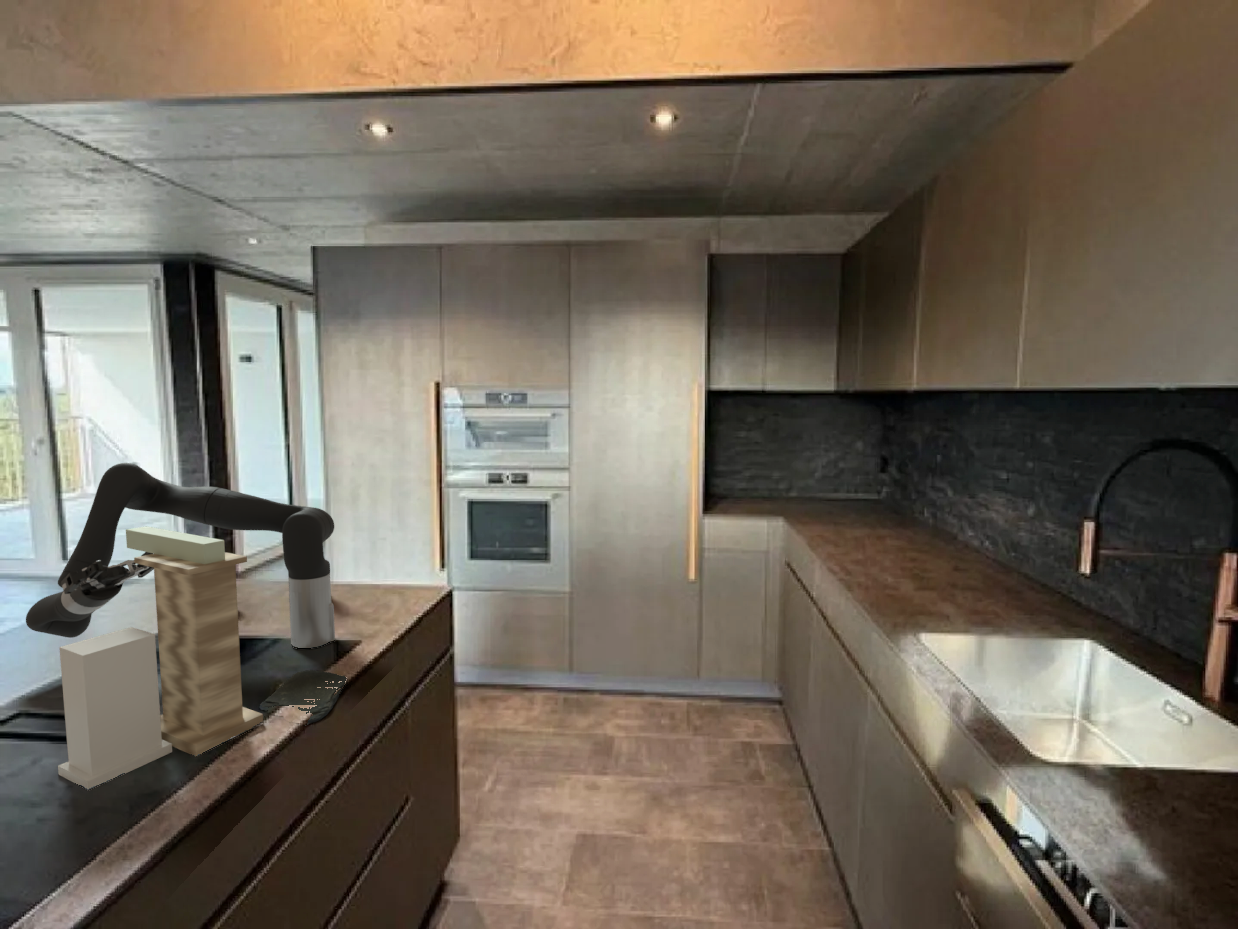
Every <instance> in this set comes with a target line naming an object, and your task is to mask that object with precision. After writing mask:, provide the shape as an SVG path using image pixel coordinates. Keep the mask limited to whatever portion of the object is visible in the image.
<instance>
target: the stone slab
mask: <svg viewBox="0 0 1238 929" xmlns="http://www.w3.org/2000/svg"><path fill="white" fill-rule="evenodd" d="M337 674H338V673H333V672H329V671H321V670H313V669H310V670H309V669H306V670H303V671H297V672H295V673H294V674H292V676H291V677H289V679H287V680H286V681H285V682H283V684H282V685H281V686H280V687H278V688H277V689H276V690H275V692H274V691H273V692H274V693H273V694H272V693H271V694H272V695H271V694H270V695H271V696H270V695H269V696H268V697H267V698H266V699H264V700H265V701H264V700H263V701H264V702H263V701H262V702H260V704H259V705H262V707H268V708H269V707H272V706H273V707H274V706H289V705H317V706H315V707H312V708H311V709H310V707H309V709H307V708H304V709H303V708H300V707H298V709H299V710H301V711H308V712H306V714H307V713H309V711H310V713H312V714H313V716H311V717H310V719H309V720H308V723H307V725H309V724H312V723H316V722H318V721H320V720H322V719H323V718H325V717H326V716H327V715H328V714H329V713H330V711H331V710H332V709H333V708H334V705H335V704H336V702H337V701H338V699H339V698H340V695H341V693H342V691H343V690H342V687H343V686H344V684H345V681H346V679H347V678H348V677H347V676H346V675H343V676H341V674H339V675H337ZM345 676H346V677H347V678H346V677H345ZM347 680H348V679H347ZM325 681H328V682H325ZM332 681H334V683H332ZM339 681H342V682H340V683H338V682H339ZM330 682H331V683H330ZM327 683H328V684H327ZM317 687H321V688H317ZM325 687H333V689H332V688H328V689H327V688H325ZM334 687H338V688H337V689H336V688H334ZM339 688H341V689H340V690H339V691H338V692H337V694H335V695H334V693H335V692H336V690H338V689H339ZM341 690H342V691H341ZM340 692H341V693H340ZM339 694H340V695H339ZM304 699H315V702H313V701H314V700H304ZM317 699H318V700H317ZM319 699H320V700H319ZM307 701H309V702H307ZM311 702H312V703H311ZM314 703H315V704H314ZM292 707H294V706H292ZM307 725H306V726H307Z"/></svg>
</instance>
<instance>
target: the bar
mask: <svg viewBox="0 0 1238 929" xmlns="http://www.w3.org/2000/svg"><path fill="white" fill-rule="evenodd" d="M125 537H126V539H125V540H126V541H125V542H126V548H127V549H131V550H135V551H141V552H144V553H145V552H149V553H153V554H158V555H163V556H168V557H173V558H177V559H182V560H187V561H192V562H196V563H201V564H208V563H213V562H217V561H222V560H225V552H226V549H225V547H226V546H225V540H224V539H221V538H213V537H210V536H209V537H207V536H202V535H197V534H191V533H186V532H182V531H175V530H170V529H163V528H159V527H153V526H148V525H147V526H140V527H139V526H138V527H133V528H127V529H126V528H125Z"/></svg>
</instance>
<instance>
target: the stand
mask: <svg viewBox="0 0 1238 929" xmlns="http://www.w3.org/2000/svg"><path fill="white" fill-rule="evenodd" d="M133 560H134V563H136V564H135V565H138V564H141V565H145V566H149V567H154V570H153V574H154V576H153V577H154V590H155V592H154V593H155V605H156V606H155V607H156V608H155V610H156V622H157V638H158V655H159V670H160V671H159V672H160V682H161V683H160V684H161V687H160V688H161V700H162V701H161V702H162V703H161V704H162V714H160V721H161V737H162V740H165V741H167V742H169V743H172V748H175V749H178V750H179V751H181V752H185V753H187V754H189V755H191V754H192V755H191V756H193V755H195V756H194V757H196V756H197V755H198V754H201V755H203V754H204V753H203V752H205V751H207V750H209V749H211V748H213V747H215V746H217V745H219V744H221V743H222V742H225V741H227V740H228V739H230V738H231V737H233V736H236V735H238V734H240V733H242V732H244V731H245V730H249V729H251V728H252V727H253V726H255V725H257V724H259V723H260V722H262V721H263V722H264V713H261V712H258V711H257V710H252V709H249V708H247V707H246V706H243V693H242V670H241V656H240V655H241V653H240V633H239V632H240V631H239V630H240V629H239V612H238V608H239V607H238V592H237V572H236V571H237V568H236V565H240V564H243V563H248V557H247V555H243V554H235V553H232V552H226V551H225V560H222V561H217V562H213V563H208V564H201V563H196V562H192V561H187V560H182V559H177V558H173V557H168V556H163V555H158V554H154V553H153V554H150V555H145V556H141V555H140V556H135V557H133ZM221 745H222V744H221ZM219 746H220V745H219ZM217 747H218V746H217ZM215 748H216V747H215ZM213 749H214V748H213ZM211 750H212V749H211ZM209 751H210V750H209ZM207 752H208V751H207ZM202 753H203V754H202ZM205 753H206V752H205ZM197 757H198V756H197Z"/></svg>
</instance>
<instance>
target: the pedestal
mask: <svg viewBox="0 0 1238 929" xmlns="http://www.w3.org/2000/svg"><path fill="white" fill-rule="evenodd" d="M156 643H157V642H156V634H155V633H154V632H153V633H152V632H149V631H146V630H143V629H139V628H136V627H133V626H130V627H126V628H123V629H119V630H116V631H112V632H109V633H105V634H101V635H98V636H94V637H91V638H87V639H84V640H79V641H76V642H73V643H69V644H66V645H62V646H59V647H58V648H59V657H60V672H61V686H62V693H63V694H62V696H63V709H64V710H63V711H64V719H65V720H64V721H65V735H66V745H67V747H66V748H67V758H68V759H67V760H68V761H66V762H62V763H61V764H58V765H57V769H58V770H57V771H58V772H57V773H58V776H60V777H62V778H63V779H66V780H68V781H69V782H71V783H73V784H75V783H76V784H75V785H77V784H78V785H77V786H79V785H82V786H84V787H85V788H87V789H89V788H91V787H93V786H96V785H99V784H101V783H103V782H106V781H107V780H110V779H112V780H114V779H113V778H115V777H117V776H118V775H120V774H122V773H125V774H127V773H129V772H131V771H132V772H133V771H134V770H136V769H138V768H140V767H143V766H145V765H147V764H149V763H151V762H154V761H156V760H157V759H160V758H162V757H164V756H166V755H169V754H170V753H173V746H172V743H169V742H167V741H165V740H162V737H161V721H160V715H161V711H160V709H161V708H160V692H159V691H160V690H159V677H158V675H159V674H158V663H157V662H158V661H157V646H156ZM117 778H118V777H117ZM115 779H116V778H115ZM110 781H111V780H110ZM106 783H107V782H106ZM99 786H100V785H99Z"/></svg>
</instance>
